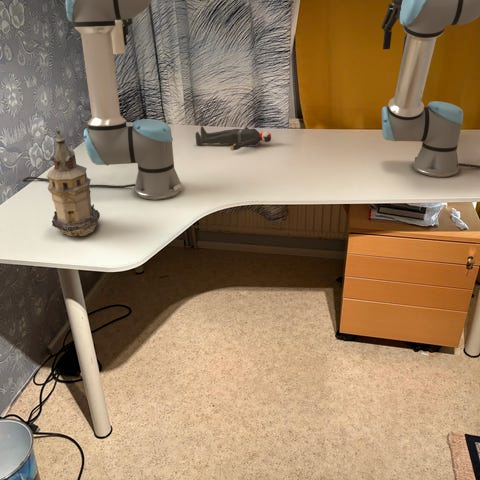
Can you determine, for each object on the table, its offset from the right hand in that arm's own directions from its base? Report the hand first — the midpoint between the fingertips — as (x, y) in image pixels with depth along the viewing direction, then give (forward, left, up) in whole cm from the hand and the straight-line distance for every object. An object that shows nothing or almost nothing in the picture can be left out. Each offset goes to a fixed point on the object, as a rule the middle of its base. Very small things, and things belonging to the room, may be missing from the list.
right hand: (395, 52), depth 204 cm
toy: (+60, -16, -34) cm, 71 cm away
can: (+101, -34, +1) cm, 107 cm away
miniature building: (+126, +38, -34) cm, 136 cm away
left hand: (+101, -34, +4) cm, 107 cm away
